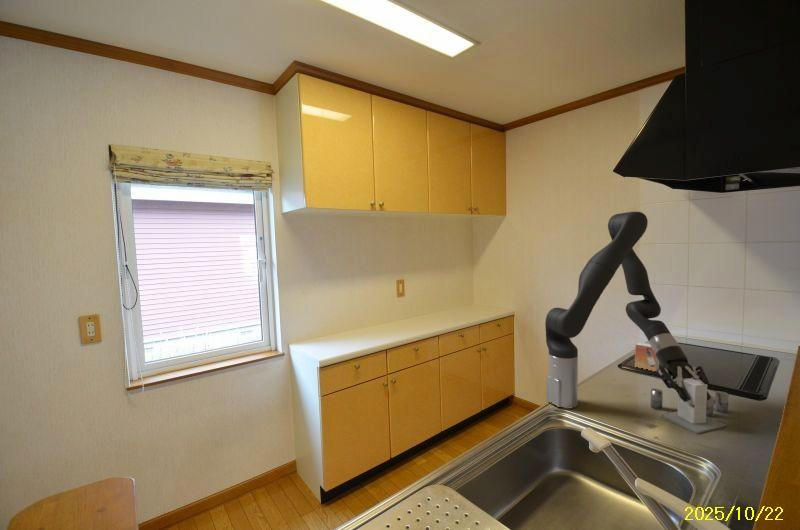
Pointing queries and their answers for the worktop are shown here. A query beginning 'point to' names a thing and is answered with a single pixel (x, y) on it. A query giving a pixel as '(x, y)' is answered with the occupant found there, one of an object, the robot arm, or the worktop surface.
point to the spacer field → (720, 404)
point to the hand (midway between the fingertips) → (697, 400)
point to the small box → (645, 357)
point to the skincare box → (693, 401)
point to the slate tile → (696, 428)
